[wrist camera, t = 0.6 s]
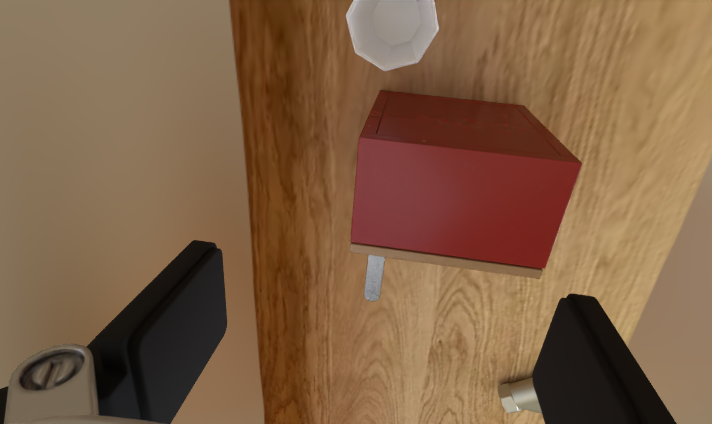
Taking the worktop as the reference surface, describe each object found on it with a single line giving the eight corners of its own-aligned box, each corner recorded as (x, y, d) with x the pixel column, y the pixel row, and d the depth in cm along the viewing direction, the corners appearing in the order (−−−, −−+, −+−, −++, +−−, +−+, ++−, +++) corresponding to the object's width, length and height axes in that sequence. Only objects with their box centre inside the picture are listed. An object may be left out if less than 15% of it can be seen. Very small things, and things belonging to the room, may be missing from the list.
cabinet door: (488, 240, 46) (518, 342, 33) (365, 224, 48) (344, 315, 34) (503, 184, 43) (543, 270, 29) (371, 168, 44) (350, 243, 31)
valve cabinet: (503, 181, 43) (545, 268, 29) (372, 165, 44) (350, 241, 30) (524, 105, 40) (582, 163, 25) (379, 90, 41) (359, 137, 27)
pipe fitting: (571, 392, 56) (554, 362, 53) (582, 419, 52) (565, 389, 50) (514, 407, 59) (495, 379, 56) (521, 434, 55) (501, 406, 53)
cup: (354, 53, 39) (340, 64, 32) (369, -72, 35) (357, -91, 28) (427, 64, 39) (428, 78, 32) (452, -61, 34) (461, -77, 27)
